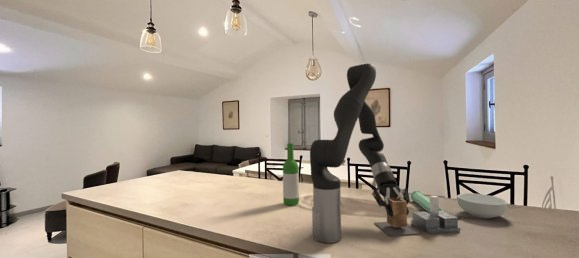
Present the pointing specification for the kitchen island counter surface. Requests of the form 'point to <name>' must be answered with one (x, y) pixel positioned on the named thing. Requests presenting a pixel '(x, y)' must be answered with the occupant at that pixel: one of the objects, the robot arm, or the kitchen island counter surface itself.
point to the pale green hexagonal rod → (422, 200)
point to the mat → (397, 229)
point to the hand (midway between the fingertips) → (399, 215)
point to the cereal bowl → (482, 205)
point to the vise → (435, 219)
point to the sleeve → (398, 212)
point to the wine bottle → (290, 179)
